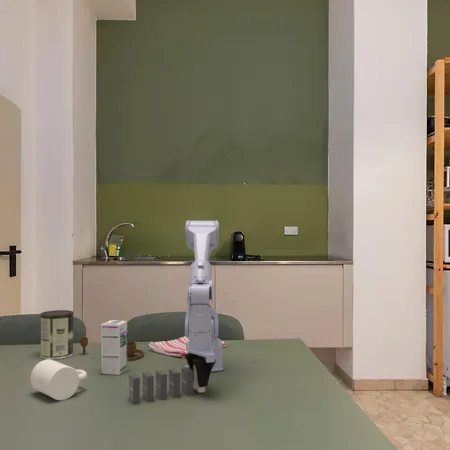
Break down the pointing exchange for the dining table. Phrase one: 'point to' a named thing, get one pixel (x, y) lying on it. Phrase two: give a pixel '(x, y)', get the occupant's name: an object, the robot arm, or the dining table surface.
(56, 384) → the mug
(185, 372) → the domino
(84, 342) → the place setting
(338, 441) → the dining table surface
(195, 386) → the domino
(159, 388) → the domino
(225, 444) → the dining table surface
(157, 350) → the dish towel
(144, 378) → the domino
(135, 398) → the domino
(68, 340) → the coffee can
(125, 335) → the syrup box
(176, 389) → the domino
